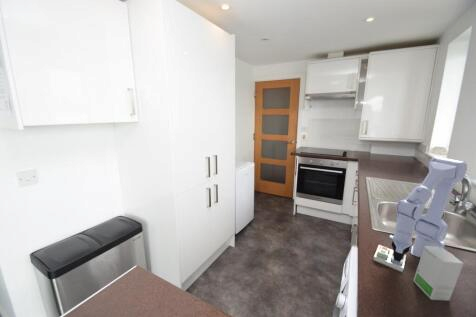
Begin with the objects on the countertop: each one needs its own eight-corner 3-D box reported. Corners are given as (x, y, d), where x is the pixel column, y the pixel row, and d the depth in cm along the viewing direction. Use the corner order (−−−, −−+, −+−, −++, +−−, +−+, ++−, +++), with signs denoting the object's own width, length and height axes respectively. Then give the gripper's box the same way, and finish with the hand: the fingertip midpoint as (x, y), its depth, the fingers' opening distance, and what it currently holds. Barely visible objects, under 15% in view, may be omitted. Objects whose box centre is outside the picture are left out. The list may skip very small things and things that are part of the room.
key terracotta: (388, 252, 94) (389, 248, 93) (387, 256, 91) (388, 251, 91) (380, 249, 96) (381, 245, 95) (378, 252, 93) (379, 248, 93)
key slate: (401, 264, 87) (402, 259, 86) (400, 268, 84) (401, 263, 84) (391, 260, 89) (393, 255, 88) (390, 264, 87) (391, 259, 86)
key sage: (387, 256, 90) (388, 251, 89) (386, 259, 87) (387, 255, 87) (378, 252, 92) (379, 248, 91) (377, 256, 90) (378, 251, 89)
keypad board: (405, 259, 91) (406, 255, 91) (402, 272, 83) (403, 268, 83) (378, 248, 98) (378, 244, 97) (373, 260, 90) (374, 256, 89)
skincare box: (412, 281, 79) (422, 244, 76) (430, 282, 79) (441, 245, 75) (431, 300, 71) (443, 261, 67) (451, 302, 71) (464, 262, 67)
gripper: (394, 219, 91) (388, 247, 94) (389, 233, 80) (382, 263, 83) (415, 225, 86) (408, 254, 89) (412, 241, 76) (404, 273, 79)
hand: (397, 259), depth 86 cm, fingers closed, pressing on key slate
